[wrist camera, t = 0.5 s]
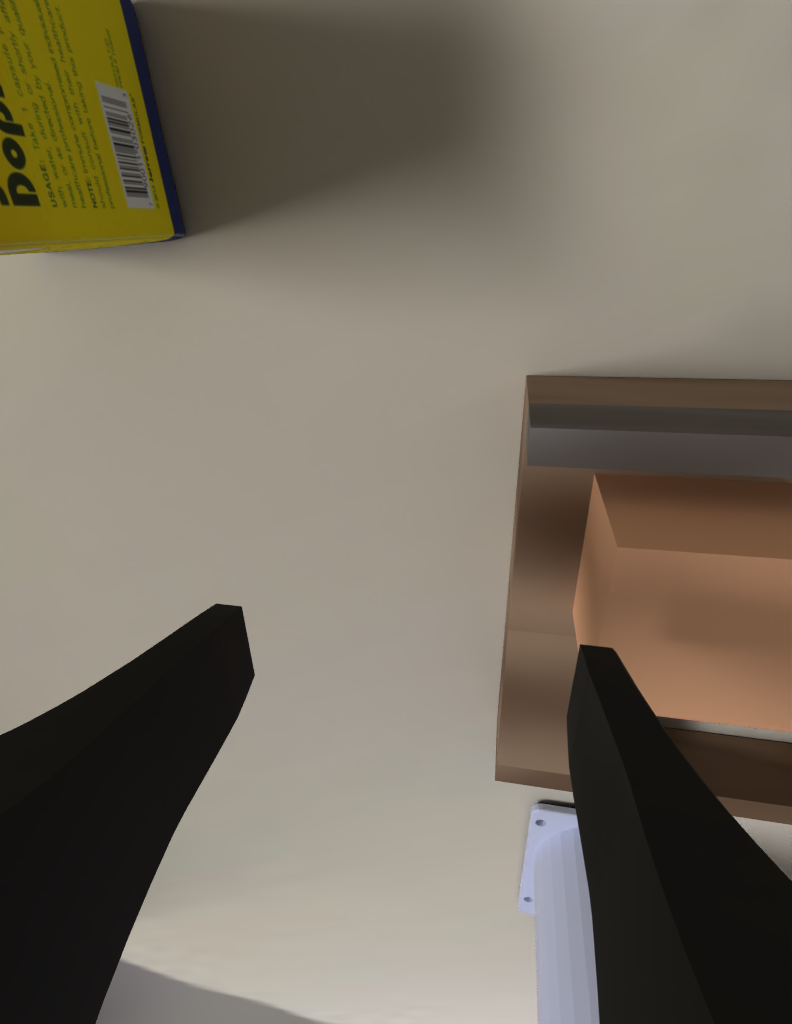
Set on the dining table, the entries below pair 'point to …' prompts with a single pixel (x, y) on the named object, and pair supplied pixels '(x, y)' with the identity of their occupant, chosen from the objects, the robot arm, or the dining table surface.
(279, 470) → the dining table surface
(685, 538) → the block
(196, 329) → the dining table surface
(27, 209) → the supplement box
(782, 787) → the deck
